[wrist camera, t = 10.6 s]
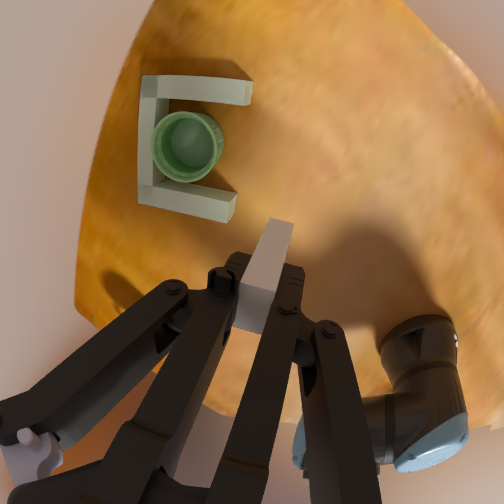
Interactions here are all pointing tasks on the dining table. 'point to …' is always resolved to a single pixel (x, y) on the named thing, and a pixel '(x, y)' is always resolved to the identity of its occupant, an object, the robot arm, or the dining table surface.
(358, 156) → the dining table surface
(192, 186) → the holder
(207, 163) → the ramekin
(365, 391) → the dining table surface
